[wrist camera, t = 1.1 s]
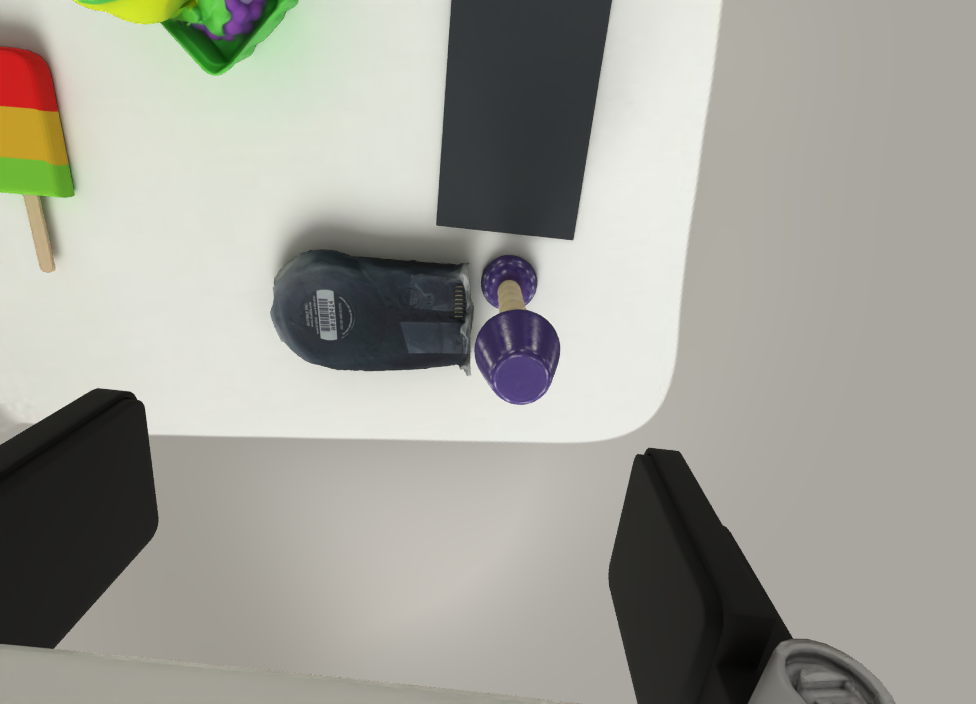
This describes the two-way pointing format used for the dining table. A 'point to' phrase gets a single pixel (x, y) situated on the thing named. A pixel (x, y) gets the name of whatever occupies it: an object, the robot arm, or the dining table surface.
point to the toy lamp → (515, 335)
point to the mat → (519, 113)
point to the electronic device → (373, 312)
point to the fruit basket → (205, 25)
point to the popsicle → (31, 141)
